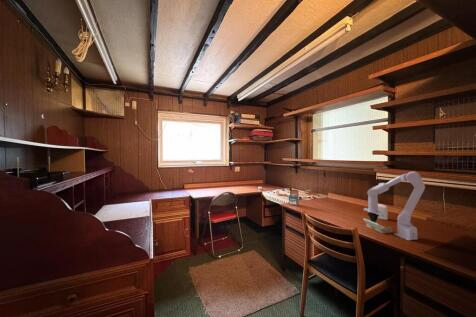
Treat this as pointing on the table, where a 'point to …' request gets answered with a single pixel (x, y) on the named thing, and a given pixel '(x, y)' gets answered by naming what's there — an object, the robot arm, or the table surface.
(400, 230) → the robot arm
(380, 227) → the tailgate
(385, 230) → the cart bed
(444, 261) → the table surface
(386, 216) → the photo printer
